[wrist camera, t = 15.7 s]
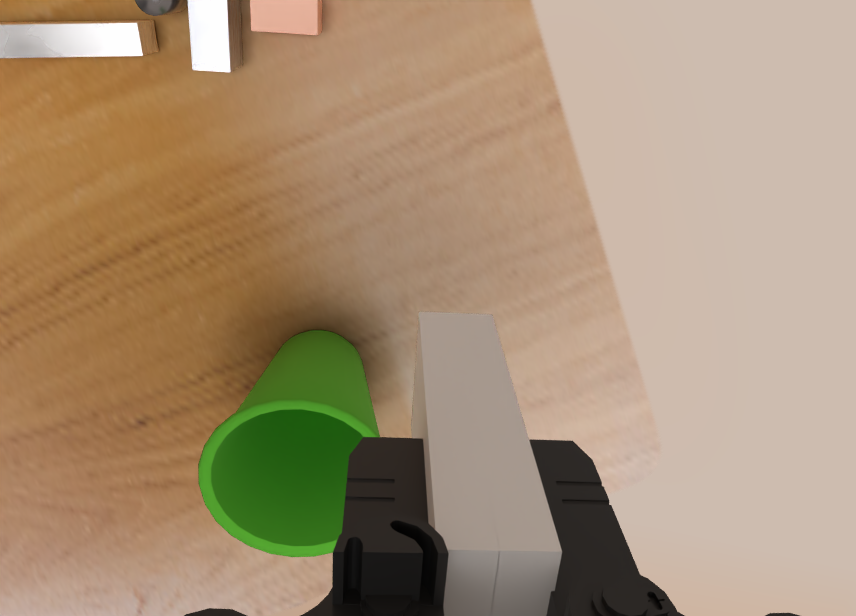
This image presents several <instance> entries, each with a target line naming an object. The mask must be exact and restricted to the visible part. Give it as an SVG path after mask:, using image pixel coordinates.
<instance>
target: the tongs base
mask: <svg viewBox="0 0 856 616" xmlns="http://www.w3.org/2000/svg"><path fill="white" fill-rule="evenodd" d="M135 1H136V3H137V5H138V7H139V8H140V9H141V10H142V11H144V12H145V13H147V14H149V15H153V16H158V15H164V14H171V13H178V12H181V11H183V10H184V9H185V8H186V7H187V5H188V12H189V27H190V41H191V55H192V69H193V70H201V71H216V72H232V71H234V70H236V69H237V68H239V67H241V66H243V51H242V27H241V3H240V0H135Z"/></svg>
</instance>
